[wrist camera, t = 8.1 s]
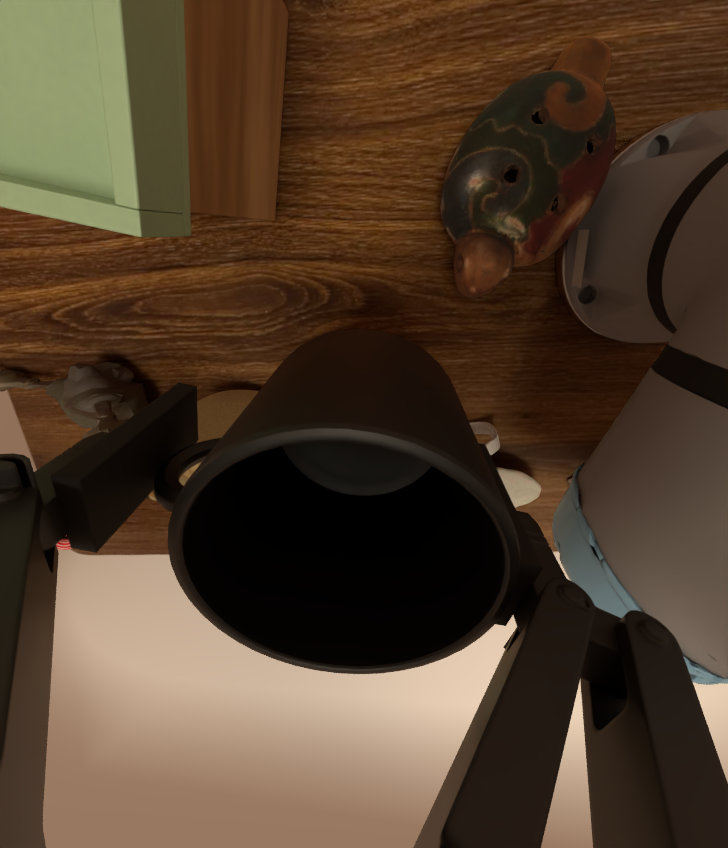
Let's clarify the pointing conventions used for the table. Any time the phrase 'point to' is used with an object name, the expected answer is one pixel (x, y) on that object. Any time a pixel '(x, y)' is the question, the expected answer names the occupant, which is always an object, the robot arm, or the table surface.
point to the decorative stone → (519, 486)
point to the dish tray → (96, 113)
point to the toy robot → (89, 394)
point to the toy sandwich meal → (218, 416)
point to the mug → (345, 514)
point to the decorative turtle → (529, 168)
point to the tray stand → (235, 104)
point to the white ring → (487, 429)
